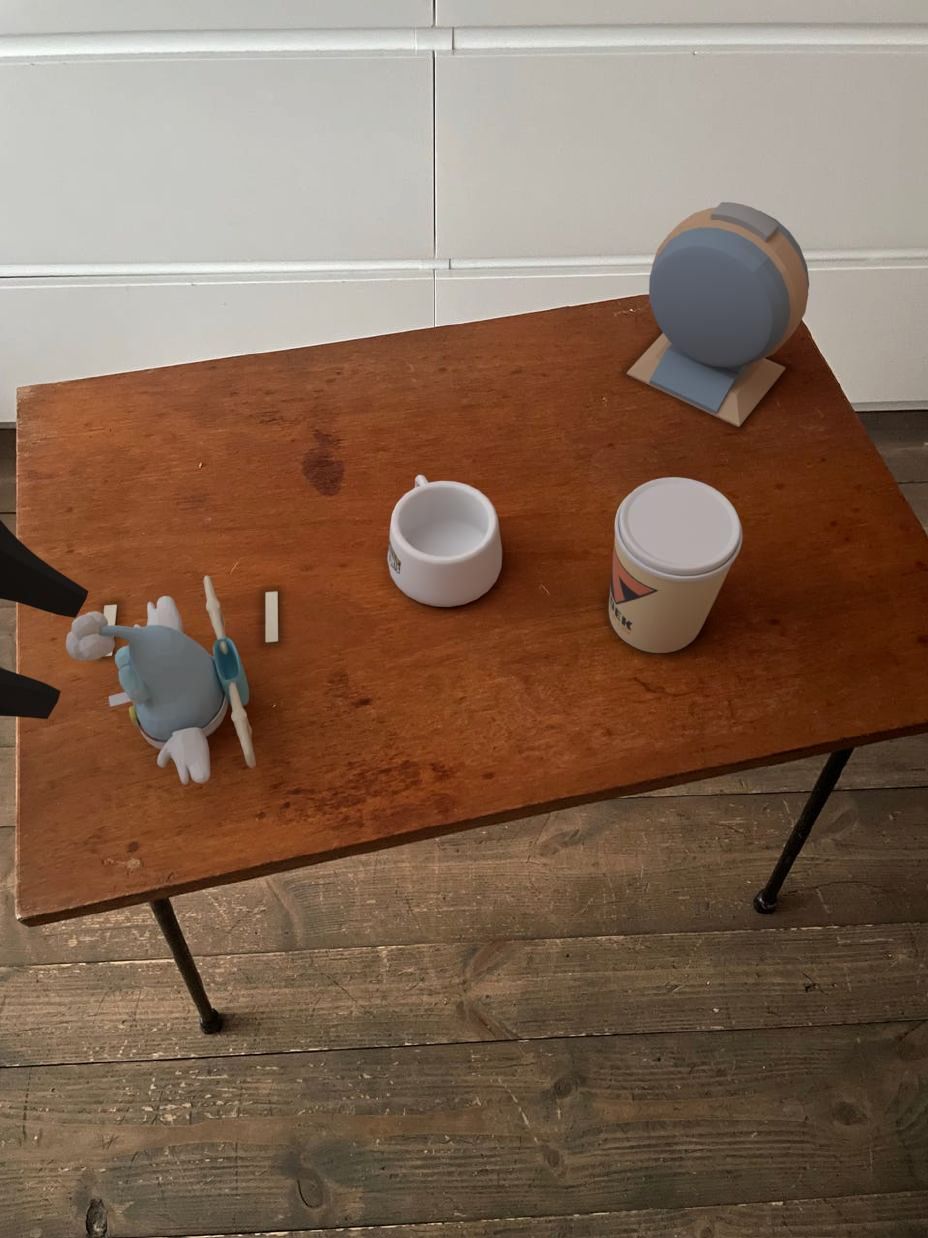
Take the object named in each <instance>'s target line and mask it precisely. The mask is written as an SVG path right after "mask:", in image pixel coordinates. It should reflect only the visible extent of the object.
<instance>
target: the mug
mask: <svg viewBox="0 0 928 1238" xmlns="http://www.w3.org/2000/svg"><path fill="white" fill-rule="evenodd" d="M498 517H499V516H498V514H497V512H496V508H495V506H494V505H493V502H492V501H491V500H490V498H489V497H488V496H486V495H485V494H484V493H483V492H482V491H480V490H479V489H477V488H475V487H473V486H472V485H469V484H467V483H462V482H458V481H455V480H454V481H452V480H439V481H438V480H436V481H431V482H429V481H428V480H427V478H426V477H425V475H423V474H418V475H417V476H416V477H415V478H414V488H413V489H411V490H409V491H408V492H406V493H404V494H403V496H402V497H401V498H400V499H399V500H398V502H397V503H396V505H395V506H394V509H393V511H392V514H391V519H390V527H389V536H388V537H389V538H388V549H387V564H388V569H389V574H390V577H391V579H392V580H393V583H394V584H395V585H396V586H397V588H398V589H399V590H400V591H402V593H403V594H404V595H406V596H407V597H409V598H411V599H413V600H414V601H416V602H417V603H420V604H424V605H427V606H432V607H439V608H440V607H441V608H443V607H444V608H451V607H456V606H463V605H466V604H468V603H470V602H473V601H476V600H478V599H479V598H480V597H482V596H483V595H485V594H486V593H487V592H489V590H490V589H491V588H492V587H493V586H494V585H495V583H496V582H497V581H498V578H499V575H500V573H501V570H502V564H503V561H502V560H503V548H502V540H501V534H500V524H499V518H498Z"/></svg>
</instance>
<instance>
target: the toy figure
mask: <svg viewBox="0 0 928 1238" xmlns="http://www.w3.org/2000/svg"><path fill="white" fill-rule="evenodd" d="M203 585H204V593H205V598H206V604H205V609H206V610H207V613H208V616H209V619H210V621H211V624H210V625H211V627H212V628H213V629H214V633H215V636H216V640H215V641H214V643H213V647H212V654H213V656H212V655H211V654H210V653H209V652H208V651H207V650H206V649H205V648H204V647H203V645H201V644H200V643H199V642H198V641H196V640H195V639H193V638H192V637H190V636H188V635H187V634H186V633H184V626H183V620H182V617H181V614H180V612H179V609H178V608H177V607H178V606H177V605H176V602H175V600H174V598H173V597H172V596H170V595H163V596H160V597H159V598H158V600H157V601H156V606H155V604H154V603H153V602H152V601H148V603H147V604H146V609H147V624H146V625H145V626H141V625H139V624H138V623H136V624H134V625H133V626H126V625H116V624H115V625H110V626H108V621H107V619H106V617H105V616H104V613H102V612H100V611H97V610H93V611H89V612H87V613H85V614H81V615H79V616H77V617H76V618H74V620H73V621H72V623H71V631H69V632H68V633H67V636H66V641H65V649H66V651H67V653H68V654H69V656H70V657H71V658H72V659H74V660H76V661H78V662H81V663H82V662H90V661H96V660H100V659H101V658H103V657H102V656H106V655H108V654H110V653H111V652H112V650H113V651H114V648H115V647H116V641H115V637H117V638H120V639H123V640H124V641H126V642H127V643H128V645H123V646H121V648H119V649H118V650H117V651H116V653H115V654H114V663H115V664H116V667H117V669H118V672H117V675H118V681H119V685H120V686H121V687H122V690H123V692H119V693H116V694H112V695H109V696H108V701H109V707H115V706H118V705H123V704H126V703H130V702H132V706H129V707H128V712H129V713H128V714H129V718H130V721H131V723H132V726H133V727H134V728H137V729H138V730H139V731H140V733H141V735H142V736H143V738H144V739H145V740H146V741H147V742H148V744H149V745H151V746H152V747H154V748H155V749H159V750H160V751H159V754H158V755H157V760H156V763H157V766H159V767H160V768H162V769H163V768H166V766H167V764H168V762H169V760H171V759H172V761H173V762H174V763H175V767H176V770H177V773H178V776H179V779H180V781H181V783H182V785H185V786H187V785H188V784H189V781H190V778H191V780H192V781H193V782H194V783H197V784H204V783H206V782H208V781H209V779H210V777H211V759H210V757H211V756H210V748H209V747H210V746H209V743H208V738H207V737H209V736H210V735H212V734H213V733H214V732H215V731H216V730H217V729H218V728H219V727H220V726H221V724H222V722H223V720H224V718H225V715H226V714H227V710H228V707H229V706H230V707H231V711H232V712H231V716H230V717H231V720H232V722H233V724H234V728H235V730H236V735H237V737H238V738H239V742H240V745H241V747H242V751H243V755H244V759H245V763H246V765H247V766H248V767H249V768H251V769H253V768H256V766H257V763H256V756H255V752H254V751H255V750H254V746H253V742H252V734H253V730H252V727H251V725H250V722H249V720H248V717H247V716H248V715H247V712H246V710H245V709H244V706H246V705H247V704H248V703H249V700H250V689H249V688H250V687H249V683H248V681H247V676H246V673H245V670H244V669H245V668H244V667H243V664H242V660H241V657H240V654H239V651H238V649H237V646H236V644H235V643H234V641H233V640H232V639H230V638H229V637H227V634H226V629H225V627H226V620H225V618H224V615H223V611H222V607H221V603H220V601H219V600H218V598H217V594H216V592H215V588H214V584H213V580H212V578H211V576H210V575H209V574H208V575H204V578H203ZM113 636H114V637H113ZM106 657H107V656H106ZM144 732H145V733H146V734H147V735H148V736H149V737H148V736H147V735H146V734H145V733H144ZM153 739H154V740H153Z"/></svg>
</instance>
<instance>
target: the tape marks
mask: <svg viewBox="0 0 928 1238" xmlns="http://www.w3.org/2000/svg"><path fill="white" fill-rule="evenodd" d="M278 594H279V591H267V592H266V591H265V643H266V644H269V643H278V642H279V595H278ZM117 610H118V604H107V605H104V608H103V615H104V616H105V617H106V619H107V621H108V626H110V625H116V623H117V622H116V621H117V620H116V619H117ZM113 637H114V638H115V636H113ZM113 652H114V649H113V650H112V652H111V653H110V654H108V655H106V656H102V657H101V658H104V657H106V658H107V657H113V654H114V653H113Z"/></svg>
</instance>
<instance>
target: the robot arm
mask: <svg viewBox="0 0 928 1238" xmlns="http://www.w3.org/2000/svg"><path fill="white" fill-rule="evenodd" d="M88 595H89V590H88V589H86V588H85V587H83V586H82V585H80V584H78V583H77V582H75V581H74V580H72V579H71V578H69V577H67V575H65V574H63V573H62V572H60V571H58V570H57V569H56V568H54V567H53V566H51V565H50V564H49V563H47V562H46V561H44V560H43V559H42V558H40V557H39V556H38V555H37V554H35V553H34V552H33V551H32V550H30V548H28V547H27V546H26V544H24V543H23V542H21V541H20V540H19V538H18V537H17V536H16V535H15V534H14V533H13V532H12V531H11V530H10V529H9V528H8V526H6V524H5V523H4V522H3V520H2V519H0V600H5V601H10V602H14V603H18V604H22V605H26V606H28V607H31V608H34V609H37V610H40V611H44V612H46V613H50V614H54V615H57V616H62V617H68V618H73V619H76V618H77V617H78V615H79V613H80V611H81V610H82V607H83V606H84V604H85V603H86V600H87V598H88ZM60 696H61V690H59V689H58V688H56V687H54V686H52V685H50V684H48V683H46V682H43V681H40V680H38V679H35V678H32V677H29V676H26V675H23V674H20V673H17V672H14V671H11V670H9V669H6V668H3V667H0V717H13V718H14V717H15V718H27V719H39V720H48V719H49V717H50V715H51V714H52V712H53V711H54V709H55V708H56V705H57V704H58V703H59V700H60Z"/></svg>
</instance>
